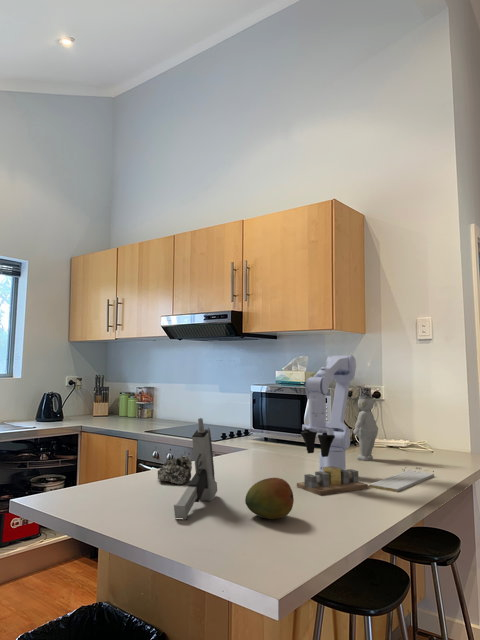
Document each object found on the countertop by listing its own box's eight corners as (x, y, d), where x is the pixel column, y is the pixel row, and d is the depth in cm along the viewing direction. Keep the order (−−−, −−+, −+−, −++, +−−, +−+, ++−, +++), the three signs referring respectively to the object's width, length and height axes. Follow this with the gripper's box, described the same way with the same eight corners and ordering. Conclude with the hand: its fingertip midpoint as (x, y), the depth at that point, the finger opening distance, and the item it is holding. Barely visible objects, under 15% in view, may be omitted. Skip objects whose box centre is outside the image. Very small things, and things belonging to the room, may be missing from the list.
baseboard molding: (361, 487, 157) (397, 494, 149) (361, 478, 157) (397, 484, 149) (401, 473, 180) (434, 478, 172) (401, 465, 180) (434, 469, 172)
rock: (203, 485, 163) (195, 458, 169) (193, 476, 155) (186, 449, 161) (167, 500, 163) (160, 473, 169) (156, 493, 155) (150, 464, 161)
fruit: (288, 527, 114) (288, 484, 115) (238, 522, 118) (238, 480, 119) (297, 514, 125) (297, 474, 126) (251, 509, 129) (251, 471, 130)
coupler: (323, 483, 155) (322, 467, 156) (332, 481, 157) (332, 466, 157) (331, 485, 152) (330, 469, 152) (341, 484, 153) (340, 468, 154)
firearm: (164, 452, 117) (197, 411, 141) (174, 539, 122) (204, 486, 146) (181, 453, 116) (212, 412, 140) (191, 541, 121) (219, 487, 144)
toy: (368, 455, 213) (367, 387, 216) (387, 458, 207) (385, 387, 210) (346, 460, 200) (345, 388, 203) (365, 463, 194) (364, 388, 197)
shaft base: (296, 486, 155) (296, 470, 155) (342, 480, 164) (342, 465, 164) (320, 495, 144) (319, 478, 145) (367, 488, 153) (367, 472, 154)
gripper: (294, 411, 166) (295, 452, 164) (321, 415, 153) (321, 459, 152) (311, 411, 169) (311, 450, 168) (338, 414, 156) (339, 457, 155)
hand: (317, 454), depth 160 cm, fingers open, 7 cm apart
